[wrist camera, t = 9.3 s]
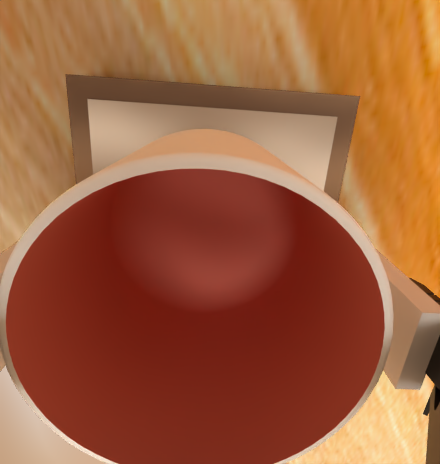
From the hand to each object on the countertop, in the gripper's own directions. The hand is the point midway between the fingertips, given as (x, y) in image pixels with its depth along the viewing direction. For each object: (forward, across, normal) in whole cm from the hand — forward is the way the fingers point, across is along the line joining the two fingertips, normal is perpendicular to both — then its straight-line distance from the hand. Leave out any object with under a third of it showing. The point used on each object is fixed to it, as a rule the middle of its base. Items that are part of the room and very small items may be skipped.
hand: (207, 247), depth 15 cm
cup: (+3, 0, 0) cm, 3 cm away
